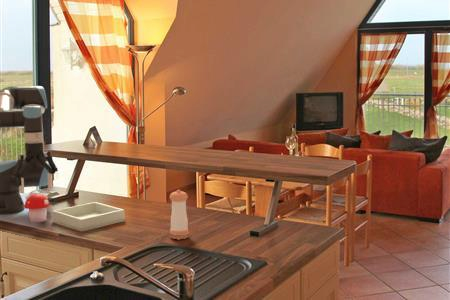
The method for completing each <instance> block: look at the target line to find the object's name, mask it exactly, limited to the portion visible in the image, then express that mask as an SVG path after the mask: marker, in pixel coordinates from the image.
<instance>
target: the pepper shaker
mask: <svg viewBox="0 0 450 300" xmlns="http://www.w3.org/2000/svg"><path fill="white" fill-rule="evenodd" d="M188 198H189V196H188V194H187V192H185V191H182V190H180V189H177V190H176V191H173V192H171V193H170V195H169V199H170V201H171V217H170V229H169V235H170V234H173V235H186V234H188V233H189V231H190V229H189V228H188V227H189V226H188V225H189V222H188V221H189V219H188V214H187V200H188ZM189 234H190V233H189Z"/></svg>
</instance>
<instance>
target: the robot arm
mask: <svg viewBox="0 0 450 300" xmlns="http://www.w3.org/2000/svg"><path fill="white" fill-rule="evenodd" d="M46 109H48V99H47V94H46V90H45V87H43V86H41V85H21V86H20V85H18V86H17V85H16V86H15V85H14V86H13V85H12V86H7V87H5V88H3V89H1V90H0V128H23V130H24V132H23V134H24V135H23V136H24V137H23V139H24V140H23V141H24V150H25V154H18V155H17V156H18V159H8V160H7V159H6V160H2V161H0V215H7V214H14V213H19V212H22V211H24V210H25V207H24V205H25V202H24V200H23V199H22V196H21V194H25V188H33V187H35V188H36V187H45V186H47V189H54V186H53V185H54V184H53V183H54V180H55V174H56V172H58V170H59V169H58V168H57V165H56V163H55V162H54V159H52V155H51V152H50V151H45V142H44V141H45V140H44V128H43V114H44V113H45V110H46Z"/></svg>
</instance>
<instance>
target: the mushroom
mask: <svg viewBox="0 0 450 300" xmlns="http://www.w3.org/2000/svg"><path fill="white" fill-rule="evenodd" d="M48 207H51V203H50V201H49V198H48V195H47V194H38V193H35V194H27V195H25V202H24V209H26V210H27V209H28V211H27V213H28V218H29V222H30V223H42V222H46V221H47V213H48V209H47V208H48Z"/></svg>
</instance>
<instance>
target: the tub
mask: <svg viewBox="0 0 450 300" xmlns="http://www.w3.org/2000/svg"><path fill="white" fill-rule="evenodd" d="M51 215H52V223H55V224H57V225H60V226H63V227H67V228H69V229H73V230H75V231H78V232H85V231H88V230H89V231H90V230H93V229H98V228H101V227H102V228H103V227H105V226H109V225H113V224H118V223H122V222H126V221H125V220H126V219H125V218H126V217H125V209H123V208H119V207H115V206H113V205H108V204H105V203H100V202H97V201H93V202H88V203H84V204H83V203H82V204H78V205H73V206H69V207H64V208H59V209H54V210H52V211H51Z"/></svg>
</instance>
